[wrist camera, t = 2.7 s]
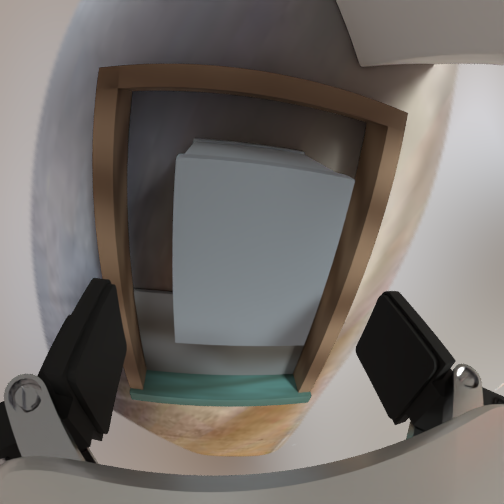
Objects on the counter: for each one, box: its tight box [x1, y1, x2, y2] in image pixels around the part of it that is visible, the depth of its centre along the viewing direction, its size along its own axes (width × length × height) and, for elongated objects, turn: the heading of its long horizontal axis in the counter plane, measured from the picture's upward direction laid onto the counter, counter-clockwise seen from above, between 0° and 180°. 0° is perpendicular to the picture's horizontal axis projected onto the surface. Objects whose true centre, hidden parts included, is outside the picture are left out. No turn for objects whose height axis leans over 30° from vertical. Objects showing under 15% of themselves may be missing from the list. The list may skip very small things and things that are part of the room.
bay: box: [92, 64, 408, 406], centre depth 17 cm, size 25×16×3 cm, turn 172°
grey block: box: [173, 138, 355, 346], centre depth 14 cm, size 8×6×7 cm
